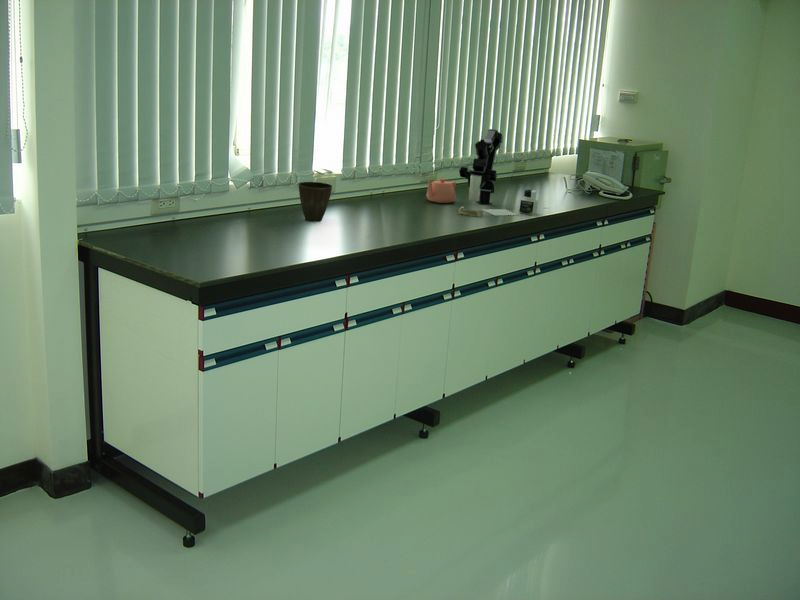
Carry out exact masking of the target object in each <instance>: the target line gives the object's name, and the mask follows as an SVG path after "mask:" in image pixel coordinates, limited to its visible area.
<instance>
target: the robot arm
mask: <svg viewBox="0 0 800 600" xmlns="http://www.w3.org/2000/svg"><path fill="white" fill-rule="evenodd" d="M503 138H504V136H503V134H502V133H501V132H499V131H498V129H493V128H489V129H487V132H486V134H485V137H484V139H482V138H481V139H480V140H479V141H477V142H476V143H474V144H475V145H474V148H475V154H476V158H473V159H472V167H471V168H472V170H471V169H469V167H468V166H460V167H459V176H460V177H461V178H465V179H466V180H467V183H468V184H467V185H468V188H470V178H471V175H478V176H481V184H480V197H479V201H475V202H476V203H478V204H480V205H493V202H490V201H491V194H494V193H495V184H494V182H496V181H497V180H498V174H497V173H498V172H497V170H495V169H494V163H495V158H496V154H497V151H498V150H499V149H500V148H501V145H502V143H503V140H504V139H503ZM493 169H494V170H493Z"/></svg>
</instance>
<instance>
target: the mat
mask: <svg viewBox="0 0 800 600" xmlns="http://www.w3.org/2000/svg"><path fill="white" fill-rule="evenodd" d="M482 209H483V208H482ZM484 211H485V213H486V212H487V214H489V215H491V214H492V215H491V216H493V215H494V217H514V216H515V217H516V216H517V217H519V214H517V213H515V212H512V211H510V210H508V209H504V208H502V209H501V208H499V209H497V208H496V209H495V208H493V209H490V208H489V209H488V208H487V209H486V208H485V209H483V212H484ZM508 215H509V216H508ZM510 215H511V216H510ZM513 215H514V216H513Z"/></svg>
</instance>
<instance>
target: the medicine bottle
mask: <svg viewBox="0 0 800 600" xmlns="http://www.w3.org/2000/svg"><path fill="white" fill-rule="evenodd" d="M519 204H520V205H519V211H518V212H519V214H522V213H523V214H524V215H528V214H530V215H529V216H534V215H536V214H538V213H537V212H538V206H539V205H538V204H539V200H538V199H537V191H536V190H534V189H525V190H524V193H523V198H521V199H520V203H519Z"/></svg>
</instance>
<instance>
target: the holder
mask: <svg viewBox="0 0 800 600" xmlns="http://www.w3.org/2000/svg"><path fill="white" fill-rule="evenodd" d="M483 212H484V211H483V208H480V209H479V210H474V209H473V210H471V209H465V206H461V207H459V208H458V209H457V215H461V214H463V216H471V217H477V216H478V217H481V216H482V215H483V214H484V213H483Z"/></svg>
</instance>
